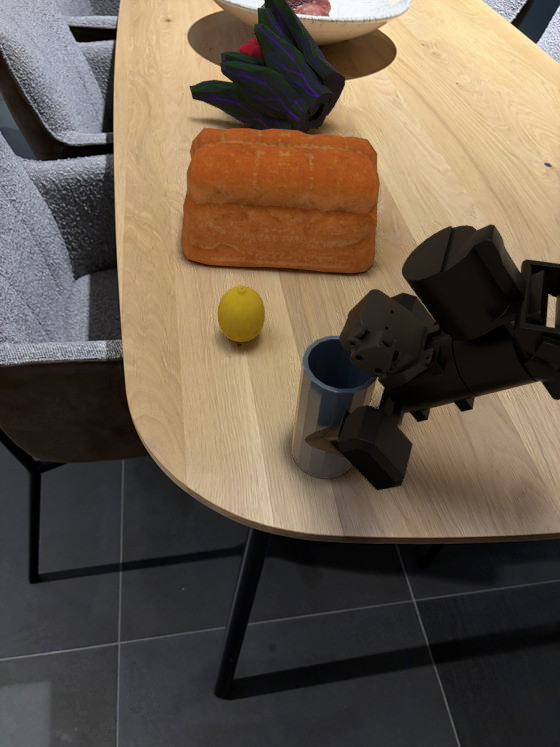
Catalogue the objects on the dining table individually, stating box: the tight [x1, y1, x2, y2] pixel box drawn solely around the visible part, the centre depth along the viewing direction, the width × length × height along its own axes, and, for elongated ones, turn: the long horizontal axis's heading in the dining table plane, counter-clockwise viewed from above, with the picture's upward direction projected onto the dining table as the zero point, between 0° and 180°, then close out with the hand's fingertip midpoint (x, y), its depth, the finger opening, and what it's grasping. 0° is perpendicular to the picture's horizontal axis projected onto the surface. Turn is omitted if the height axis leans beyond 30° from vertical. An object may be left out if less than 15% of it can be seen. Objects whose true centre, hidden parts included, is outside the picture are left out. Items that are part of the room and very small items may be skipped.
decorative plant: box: [188, 0, 346, 134], centre depth 104 cm, size 21×26×30 cm
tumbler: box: [291, 335, 378, 479], centre depth 58 cm, size 7×7×14 cm
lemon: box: [217, 285, 266, 343], centre depth 70 cm, size 6×6×8 cm
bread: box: [180, 127, 381, 274], centre depth 81 cm, size 14×27×15 cm, turn 89°
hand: (321, 404), depth 58 cm, fingers open, 9 cm apart
